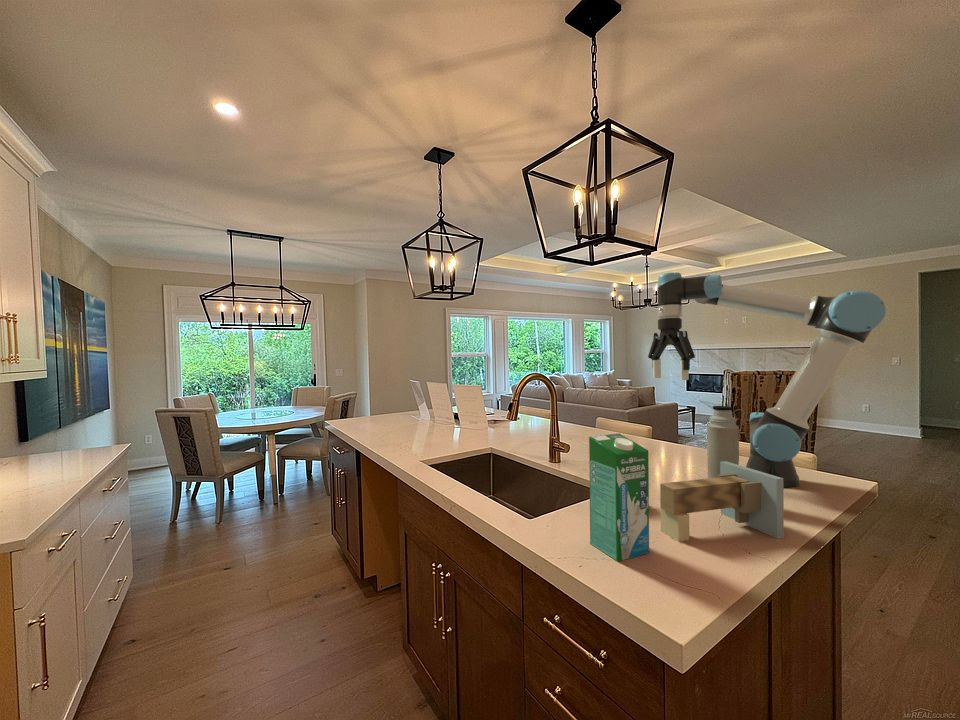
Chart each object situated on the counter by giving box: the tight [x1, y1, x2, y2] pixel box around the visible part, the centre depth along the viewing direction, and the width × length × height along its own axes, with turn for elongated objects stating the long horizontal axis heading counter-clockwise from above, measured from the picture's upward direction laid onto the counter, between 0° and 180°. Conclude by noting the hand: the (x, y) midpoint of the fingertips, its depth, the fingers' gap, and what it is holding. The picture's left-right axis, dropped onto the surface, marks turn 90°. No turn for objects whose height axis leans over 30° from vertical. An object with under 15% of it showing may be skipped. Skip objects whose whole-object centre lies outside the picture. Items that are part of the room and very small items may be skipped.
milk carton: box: [588, 433, 650, 562], centre depth 91 cm, size 9×9×25 cm
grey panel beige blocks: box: [660, 461, 785, 543], centre depth 99 cm, size 25×16×14 cm, turn 104°
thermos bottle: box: [706, 405, 740, 479], centre depth 118 cm, size 8×8×28 cm
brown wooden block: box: [659, 476, 749, 515], centre depth 99 cm, size 22×4×6 cm, turn 104°
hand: (670, 379), depth 141 cm, fingers open, 13 cm apart
